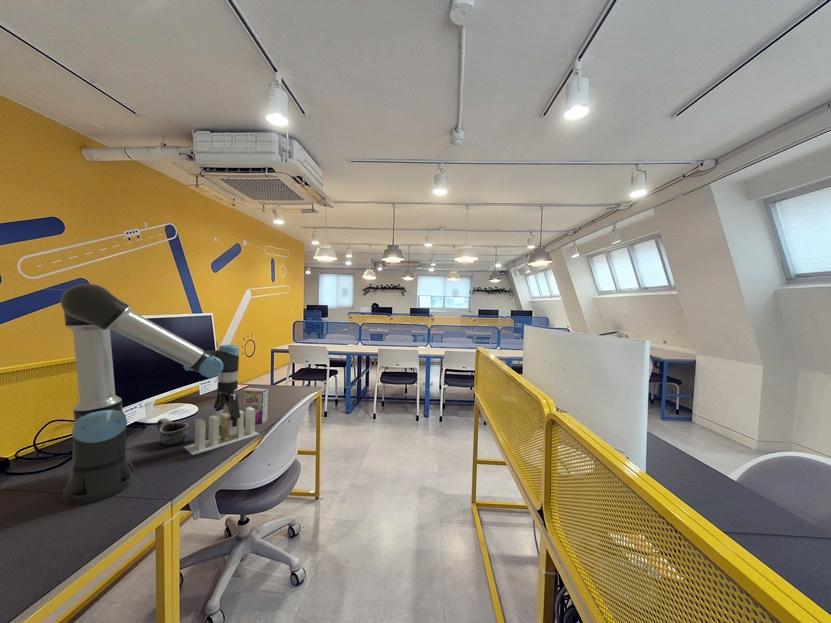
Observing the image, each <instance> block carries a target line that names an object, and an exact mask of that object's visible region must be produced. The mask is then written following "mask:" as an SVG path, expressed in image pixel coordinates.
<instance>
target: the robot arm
mask: <svg viewBox="0 0 831 623" xmlns="http://www.w3.org/2000/svg"><path fill="white" fill-rule="evenodd" d="M60 306H61V309H62V310H63V314H64V315H63V316H64V324H65V327H66V328H68V329H70V331H72V335H73V337H72V338H73V345H74V358H75V359H74V360H75V367H76V368H75V369H76V379H77V388H78V389H77V390H78V398H79V399H78V400H79V402H78V403H76V405H75V406H73V420H74V424H73V427H72V431H71V434H72V471H71V473H70V476H69V478H68V481H67V483H66V485H65V488H64V490H63V493H62V501H63V502H64V503H65V504H67V505H72V506H73V505H85V504H90V503H91V504H92V503H95V502H98V501H101V500H102V501H103V500H105V499H107V498H110V497H112V496H114V495H117V494H119V493H121V492H122V491H124V490H127V488H128V487H130V486H131V485H132V482H133V473H132V470H131V468H130V466H129V464H128V462H127V460H126V453H127V452H126V449H127V448H126V447H127V446H126V445H127V444H126V443H127V441H126V440H127V426H128V420H127V417H126V416H127V415H126V414H125V413H124V411H123V410H124V409H123V408H124V407H123V400H122V398H121V397H119V396H118V395H116V389H115V388H116V387H115V375H114V362H113V351H112V338H111V331H114V332H116V333H117V334H119V335H122V336H124V337H126V338H128V339H130V340H132V341H134V342H137V343H138V344H140V345H142V346H144V347H146V348H149V349H150V350H153V351H154V352H157V353H159V354H160V355H162V356H165V357H167V358H169V359H171V360H173V361H175V362H177V363H179V364H181V365H183V369H184V370H185V371H187V372H190V371H192V372H197V373H199V374H200V375H201V376H203V377H205V378H215V377H217V388H216V389H217V390H216V391H217V393H216V397H215V400H214V404H213V408H214V409H215V416H216V417H218V418H219V426H221V414H222V413H224V409H225V408H224V407H225V406H227V409H228V414H230V417H231V418H230V419H229V420H230V425H229V435H232V434H235V433H237V418H240V405H239V400H238V398H239V397H238V393H236V394H235V392H234V391H236V390H237V389H238V385H239V382H238V379H239V374H240V371H239V362H240V347H239V346H238V345H237V344H222V345H221V344H220V346H218V350H217V349H216V350H204V349H202V348H200V347H198V346H197V345H195V344H193V343H191V342H189V341H187V340H185V339H184V338H182V337H180V336H179V335H178V334H175V333H173V332H171V331H169V330H167V329H166V328H164V327H162V326H161V325H158V324H157V323H155V322H153V321H151V320H149V319H148V318H145V317H144V316H141V315H140V314H138V313H137V312H134V311H133V310H132V309H131V306H130V305H129V304H127V303H125V302H123V301H122V300H120V298H117V297H116V296H115V295H114V294H113V293H112V292H111V291H109V290H108V289H107V288H105V287H103V286H101V285H99V284H93V283H81V284H75V285H73V286H71V287H70V288H67V289H66V290H65V291H64V292H63V294H62V295H61V298H60Z"/></svg>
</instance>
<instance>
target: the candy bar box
mask: <svg viewBox="0 0 831 623" xmlns="http://www.w3.org/2000/svg"><path fill="white" fill-rule="evenodd" d="M241 395H242V398H241V399H242V402H241V411H243V412H244V423H245V417H246V408H248V407H252V408H254V409H256V410H255V424H263V423H265V422H266V421H268V409H269V408H268V406H269V403H268V402H269V388H268V389H267V388H255V387H246V388H245V389H243V390H242V394H241Z"/></svg>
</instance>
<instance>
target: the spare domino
mask: <svg viewBox="0 0 831 623" xmlns="http://www.w3.org/2000/svg"><path fill="white" fill-rule="evenodd" d="M230 418H231V417H230V413H229V412H223V413H222V414H221V425H220V436H221V439H222V440H223V441H225V442H228V441H231V435H229V425H230V420H229V419H230Z"/></svg>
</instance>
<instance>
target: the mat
mask: <svg viewBox="0 0 831 623" xmlns="http://www.w3.org/2000/svg"><path fill="white" fill-rule="evenodd" d="M258 435H260V433H259V432H257V431H255V433H254V434H249V433H247V432H245V428H244V435H243V437H241V438H238V437H236V436H235V435H234V434H232V435H231V441H228V442H225V441H223V440H222V439H221V435H219V444H218V445H215V446H213V445H211V444H210V443H209V442H208V439H207V440H206V439H205V449H202V450H199V449H197V448H196V447H195V443H193V444H190V445H186V446H183V448H184V449H186V451H187V452H189V453H190V454H191V455H192V456H194V455H196V454H197V455H198V454H201V453H203V452H207V451H210V450H214V449H216V448H219V447H223V446H226V445H230V444H233V443H235V442H239V441H243V440H244V439H245V440H246V439H248V438H251V437H255V436H258Z"/></svg>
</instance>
